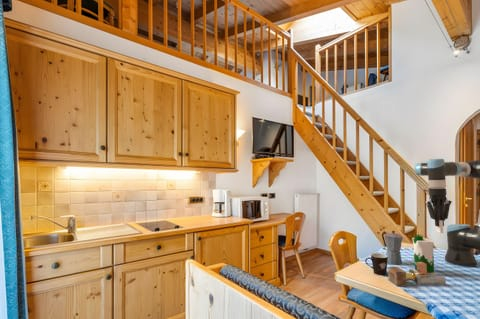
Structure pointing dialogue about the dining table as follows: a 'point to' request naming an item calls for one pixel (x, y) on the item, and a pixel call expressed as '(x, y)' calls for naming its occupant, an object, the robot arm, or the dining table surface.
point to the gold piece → (420, 268)
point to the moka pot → (393, 247)
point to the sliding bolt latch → (428, 279)
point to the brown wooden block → (397, 276)
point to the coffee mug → (378, 263)
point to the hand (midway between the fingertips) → (440, 232)
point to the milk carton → (423, 252)
